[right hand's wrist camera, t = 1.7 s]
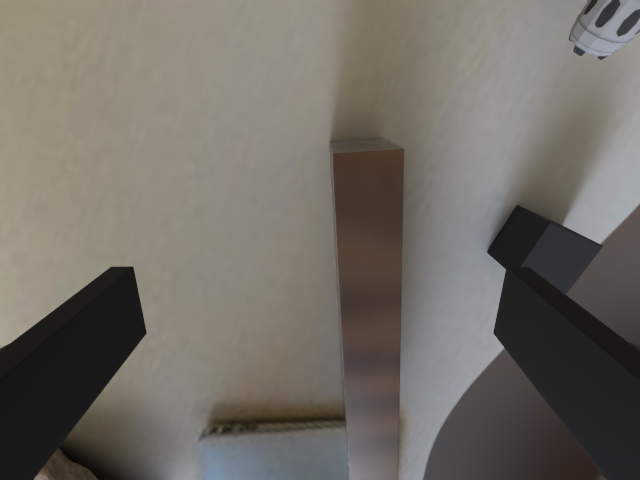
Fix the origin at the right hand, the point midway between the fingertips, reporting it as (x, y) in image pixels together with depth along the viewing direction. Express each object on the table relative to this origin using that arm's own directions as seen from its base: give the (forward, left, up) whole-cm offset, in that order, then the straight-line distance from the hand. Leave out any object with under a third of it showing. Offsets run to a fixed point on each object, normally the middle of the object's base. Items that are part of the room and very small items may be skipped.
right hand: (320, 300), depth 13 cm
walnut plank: (+6, +10, -20) cm, 23 cm away
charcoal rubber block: (-8, +18, -20) cm, 28 cm away
